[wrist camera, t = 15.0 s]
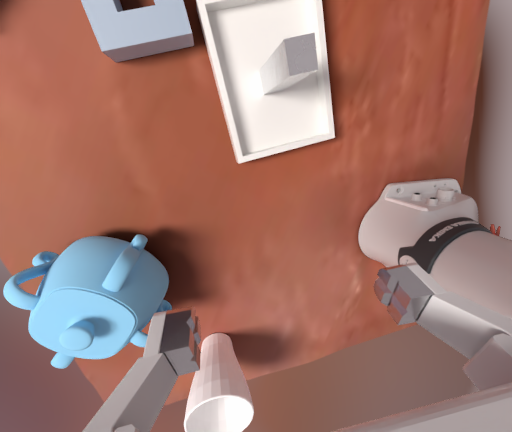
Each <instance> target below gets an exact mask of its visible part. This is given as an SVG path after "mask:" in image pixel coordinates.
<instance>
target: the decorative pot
mask: <svg viewBox="0 0 512 432" xmlns="http://www.w3.org/2000/svg"><path fill="white" fill-rule="evenodd" d="M147 241H148V239H147V238H146V237H145V236H144V235H141V234H138V235H136V236H135V237H134V239H133V240H132V242H131V243H130V242H127V241H124V240H120V239H117V238H111V237H105V236H90V237H85V238H82V239H79V240H77V241H75V242H74V243H72V244H71V245H70V246H69V247H67V248H66V249H65V250H64V251H63V252H62V253H61V255H60V256H59V255H58V254H56V253H53V252H48V251H45V252H41V253H39V254H38V255H36V256H35V257H34V258H33V262H32V263H33V265H34V267H31V268H29V269H26V270H23V271H21V272H19V273H17V274H15V275H14V276H12V277H11V278H10V279H9V280H8V281H7V283H6V284H5V286H4V296H5V298H6V300H7V301H8V302H9V303H11V304H12V305H14V306H16V307H18V308H22V309H27V310H31V314H30V318H29V333H30V335H31V336H32V337H33V338H34V339H35V340H36V341H37V342H38V343H40V344H41V345H43V346H45V347H47V348H49V349H51V350H53V351H56V352H57V353H56V355H55V356H54V358H53V359H52V361H51V365H52V366H54V367H56V368H66V367H67V366H69V364H70V363H71V362H72V361H73V359H74V358H75V357H77V358H84V359H103V358H108V357H111V356H113V355H115V354H116V353H117V352H119V351H120V350H121V349H123V348H124V347H125V346H126V345H127V344H128V343H129V342H131V343H133V344H134V345H137V346H139V347H145V346H146V342H147V337H148V334H145V333H143V332H141V331H142V329H143V328H144V327H145V326H146V325H147V324H148V322H149V321H150V320H151V319H152V316H153V315H154V313H157V312H162V311H167V310H172V306H171V304H170V303H169V302H168V301H166V300H163V298H164V296H165V294H166V292H167V289H168V285H169V277H168V273H167V271H166V269H165V267H164V266H163V265H162V264H161V262H160V261H158V260H157V259H156V258H155V257H154V256H153V255H152V254H150V253H149V252H147V251H146V250H144V247H145V245H146V243H147ZM44 274H45V276H44V278H43V280H42V282H41V284H40V286H39V288H38V290H37V293H36V295H33V294H29V293H27V292H25V291H23V290H22V289H21V288H20V287H19V286H18V285H19V284H21V283H23V282H25V281H27V280H30V279H33V278H35V277H38V276H41V275H44Z"/></svg>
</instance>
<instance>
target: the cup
mask: <svg viewBox="0 0 512 432" xmlns="http://www.w3.org/2000/svg"><path fill="white" fill-rule="evenodd" d="M253 414H254V409H253V404H252V399H251V396H250V391H249V388H248V385H247V383H246V380H245V377H244V374H243V372H242V370H241V368H240V365H239V363H238V361H237V358H236V355H235V353H234V350H233V346H232V341H231V339H230V337H229V336H228V335H226V334H224V333H214V334H211V335H209V336H208V337H206V338H205V339H204V341H203V343H202V348H201V355H200V370H199V371H196V372H195V375H194V378H193V381H192V385H191V389H190V393H189V397H188V402H187V408H186V415H185V421H184V428H185V432H242V431H243V430H244V429H245V428H246V427H247V426H248V425H249V423H250V422H251V420H252V417H253Z"/></svg>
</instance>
